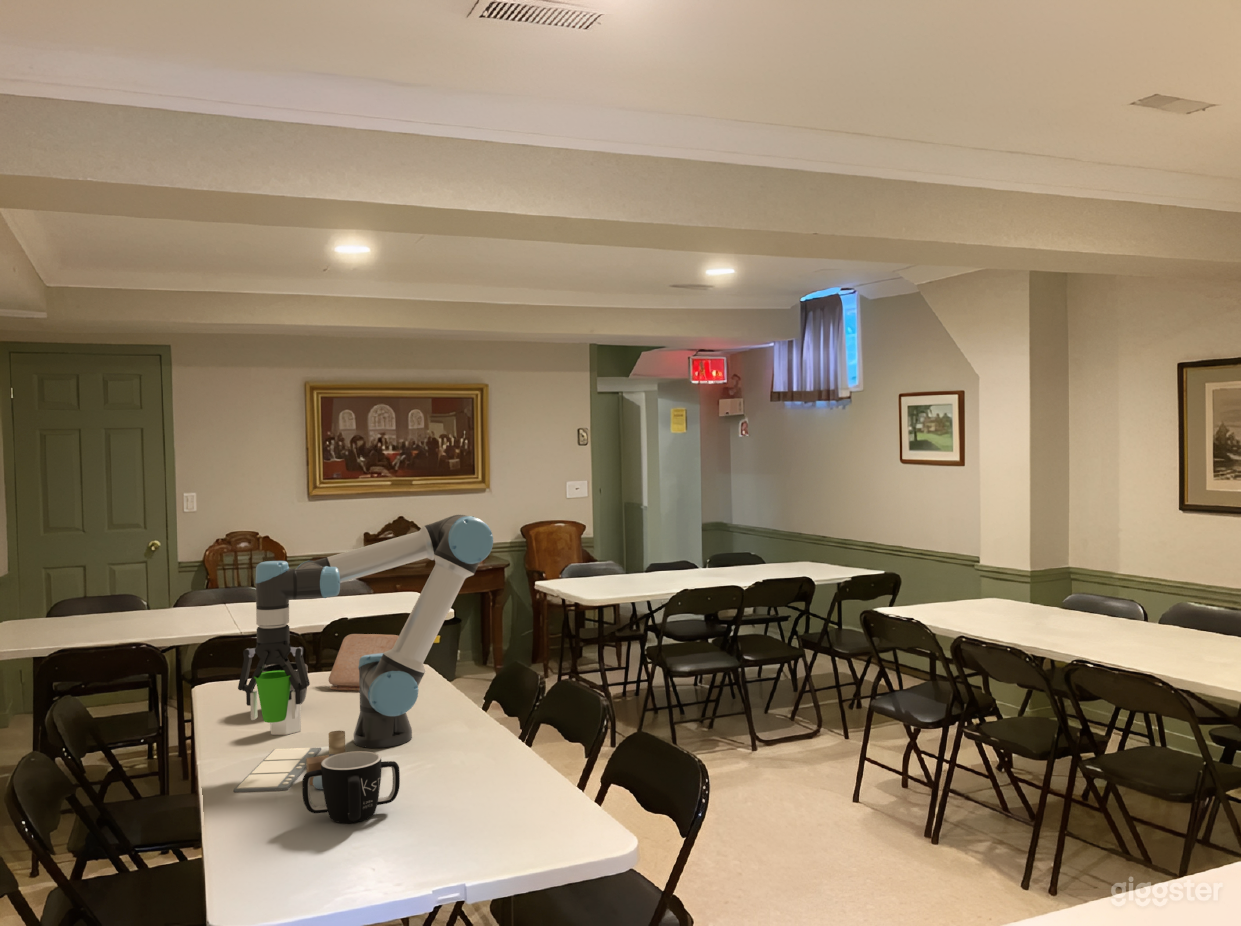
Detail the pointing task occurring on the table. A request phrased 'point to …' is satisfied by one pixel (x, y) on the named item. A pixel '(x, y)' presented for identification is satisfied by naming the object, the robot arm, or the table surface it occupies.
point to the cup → (273, 695)
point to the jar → (287, 721)
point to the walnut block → (314, 764)
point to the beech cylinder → (336, 742)
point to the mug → (351, 786)
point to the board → (277, 770)
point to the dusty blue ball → (317, 782)
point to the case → (356, 658)
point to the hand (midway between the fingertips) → (274, 717)
